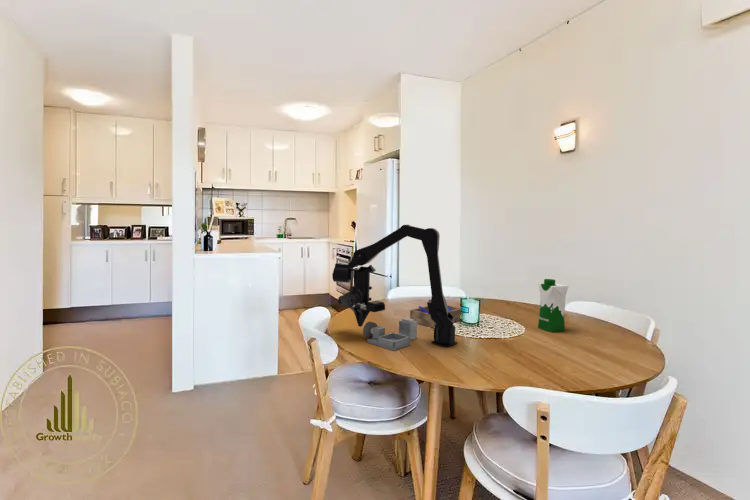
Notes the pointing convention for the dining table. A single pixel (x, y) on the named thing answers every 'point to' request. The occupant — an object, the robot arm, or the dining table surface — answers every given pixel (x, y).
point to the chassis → (388, 339)
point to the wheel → (368, 329)
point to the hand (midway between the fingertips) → (360, 326)
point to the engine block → (408, 328)
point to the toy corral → (426, 319)
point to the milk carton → (552, 306)
